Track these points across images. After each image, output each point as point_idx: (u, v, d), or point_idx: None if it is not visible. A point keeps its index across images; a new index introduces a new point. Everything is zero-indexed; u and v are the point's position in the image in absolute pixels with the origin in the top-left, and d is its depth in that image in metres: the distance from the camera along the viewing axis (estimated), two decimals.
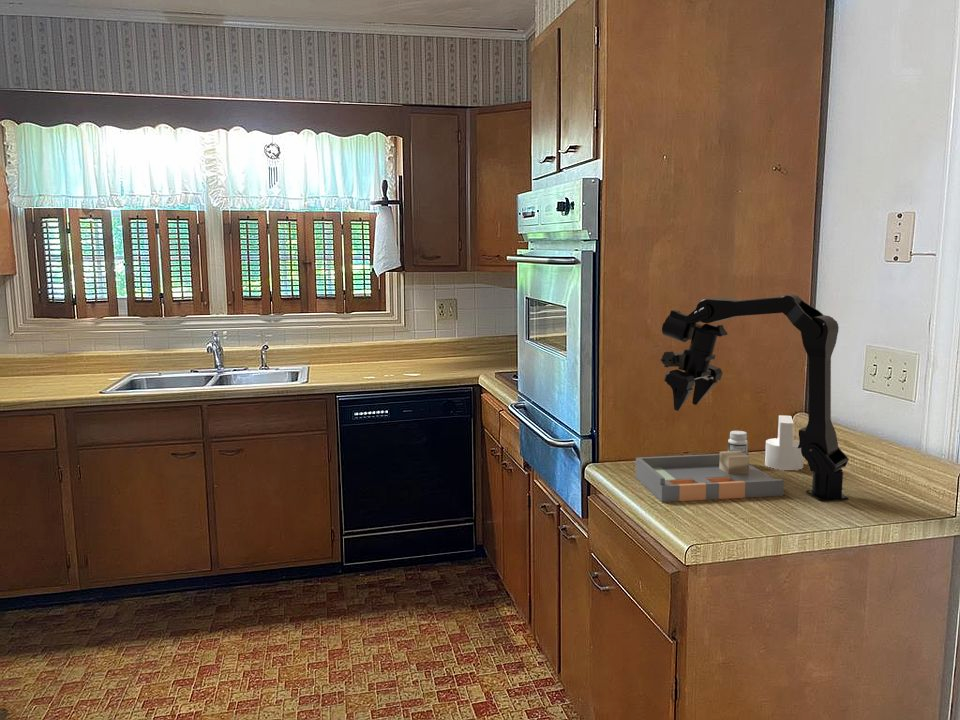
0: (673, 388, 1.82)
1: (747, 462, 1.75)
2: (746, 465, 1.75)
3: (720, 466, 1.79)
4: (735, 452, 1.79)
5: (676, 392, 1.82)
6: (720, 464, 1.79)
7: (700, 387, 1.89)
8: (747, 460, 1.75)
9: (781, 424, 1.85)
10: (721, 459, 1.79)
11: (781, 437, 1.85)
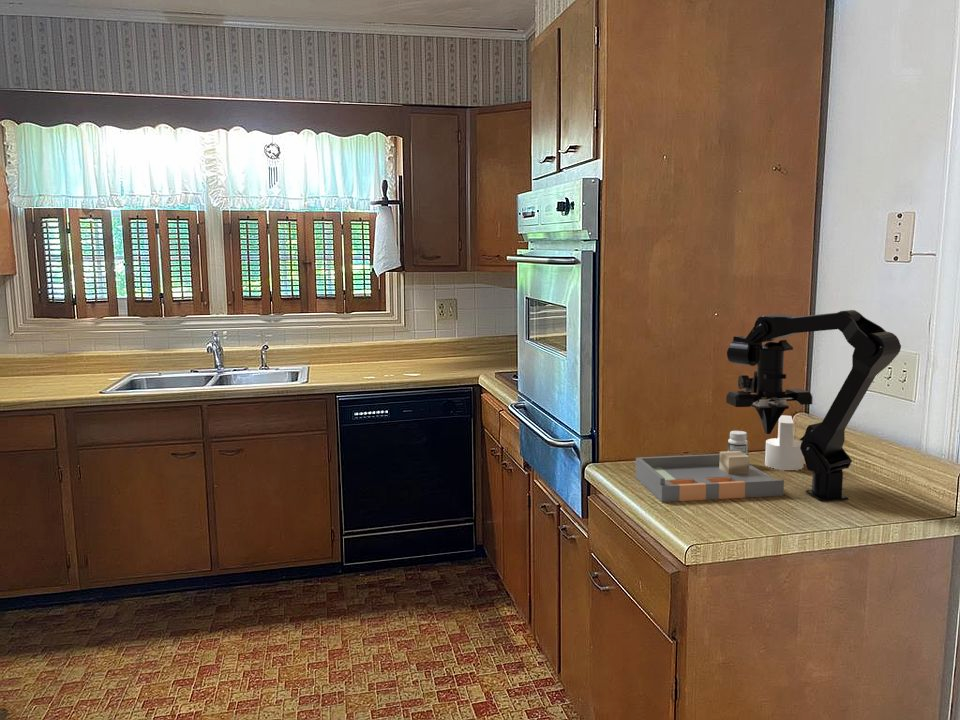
0: (757, 409, 1.78)
1: (747, 462, 1.75)
2: (746, 465, 1.75)
3: (720, 466, 1.79)
4: (735, 452, 1.79)
5: (761, 413, 1.77)
6: (720, 464, 1.79)
7: (770, 414, 1.77)
8: (747, 460, 1.75)
9: (781, 424, 1.85)
10: (721, 459, 1.79)
11: (781, 437, 1.85)
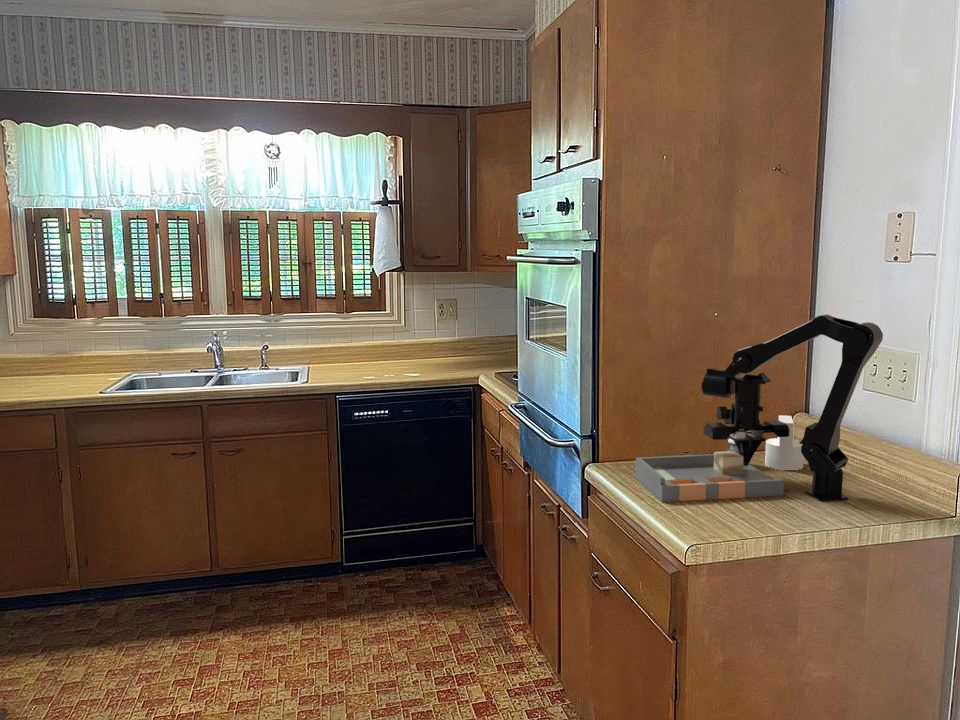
0: (735, 441, 1.78)
1: (741, 462, 1.75)
2: (740, 465, 1.75)
3: (714, 466, 1.79)
4: (729, 452, 1.79)
5: (739, 445, 1.78)
6: (714, 464, 1.79)
7: None
8: (741, 460, 1.75)
9: None
10: (715, 459, 1.79)
11: (781, 437, 1.85)
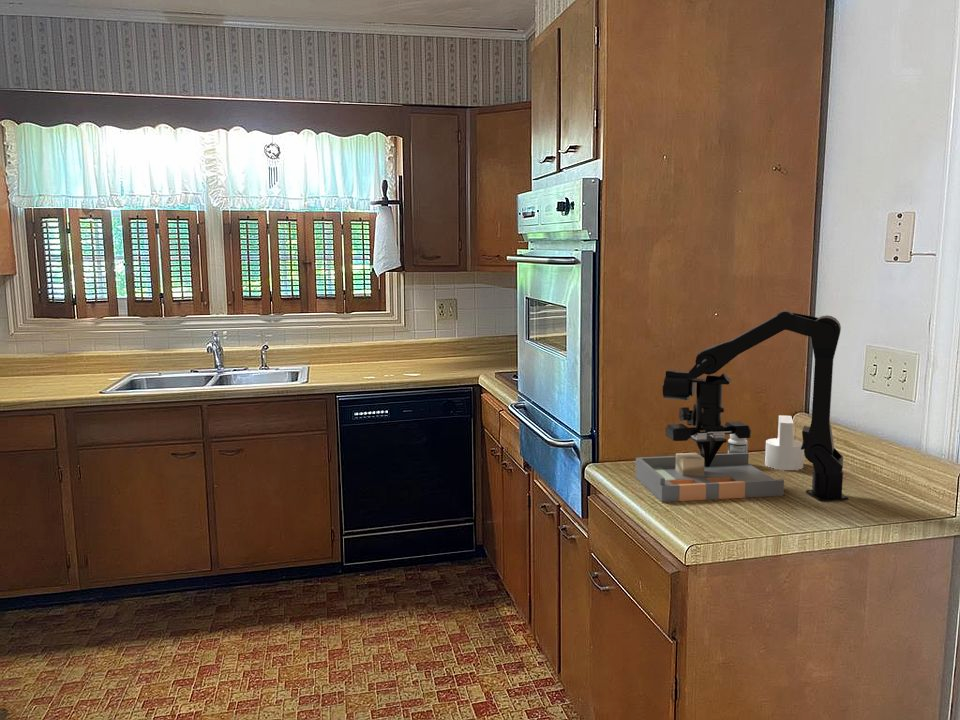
0: (696, 442, 1.77)
1: (702, 464, 1.74)
2: (701, 467, 1.74)
3: (676, 468, 1.78)
4: (691, 454, 1.78)
5: (700, 446, 1.77)
6: (676, 466, 1.78)
7: (709, 447, 1.76)
8: (702, 462, 1.74)
9: (781, 424, 1.85)
10: (677, 461, 1.78)
11: (781, 437, 1.85)
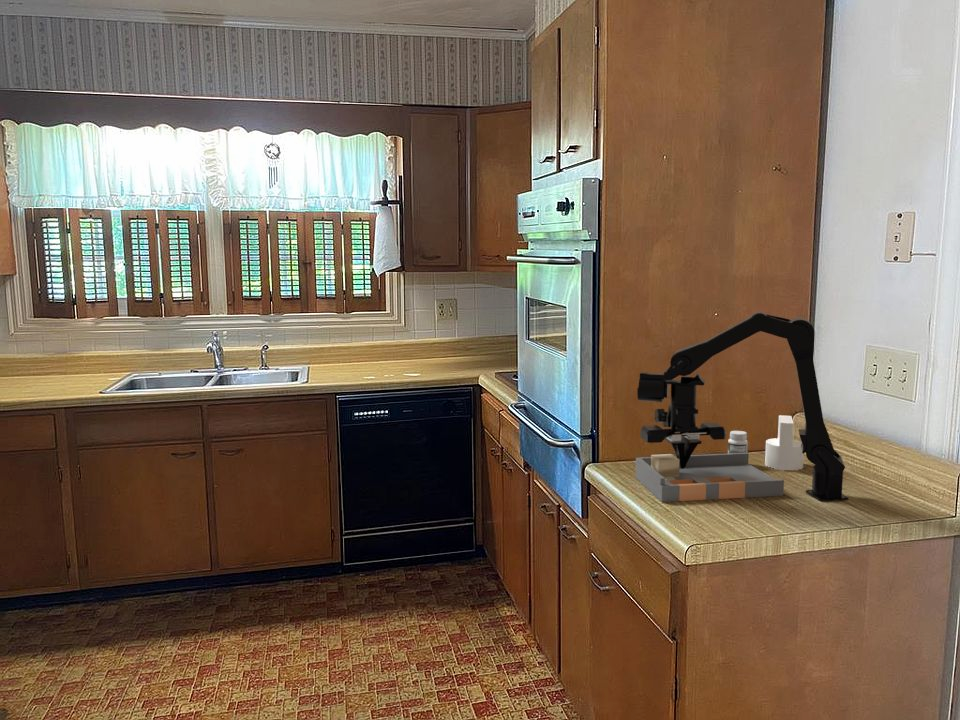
0: None
1: (677, 465, 1.74)
2: (676, 468, 1.74)
3: None
4: (666, 455, 1.77)
5: (675, 448, 1.76)
6: None
7: None
8: (677, 463, 1.73)
9: (781, 424, 1.85)
10: (652, 462, 1.77)
11: (781, 437, 1.85)
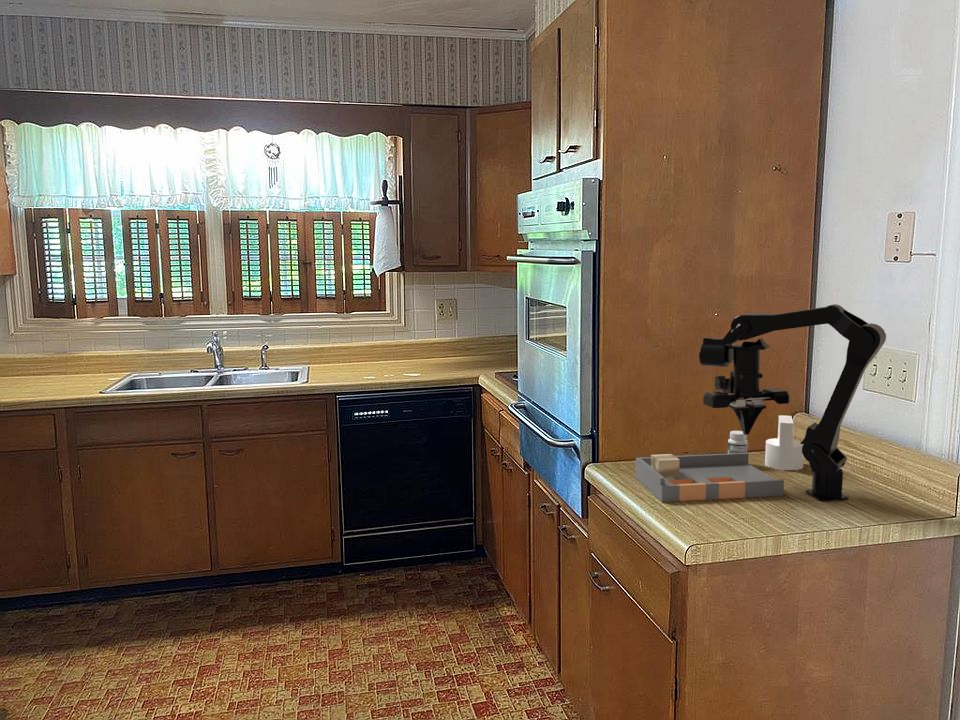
0: (734, 410, 1.76)
1: (677, 465, 1.74)
2: (676, 468, 1.74)
3: None
4: (666, 455, 1.77)
5: (738, 414, 1.75)
6: None
7: None
8: (677, 463, 1.73)
9: (781, 424, 1.85)
10: (652, 462, 1.77)
11: (781, 437, 1.85)
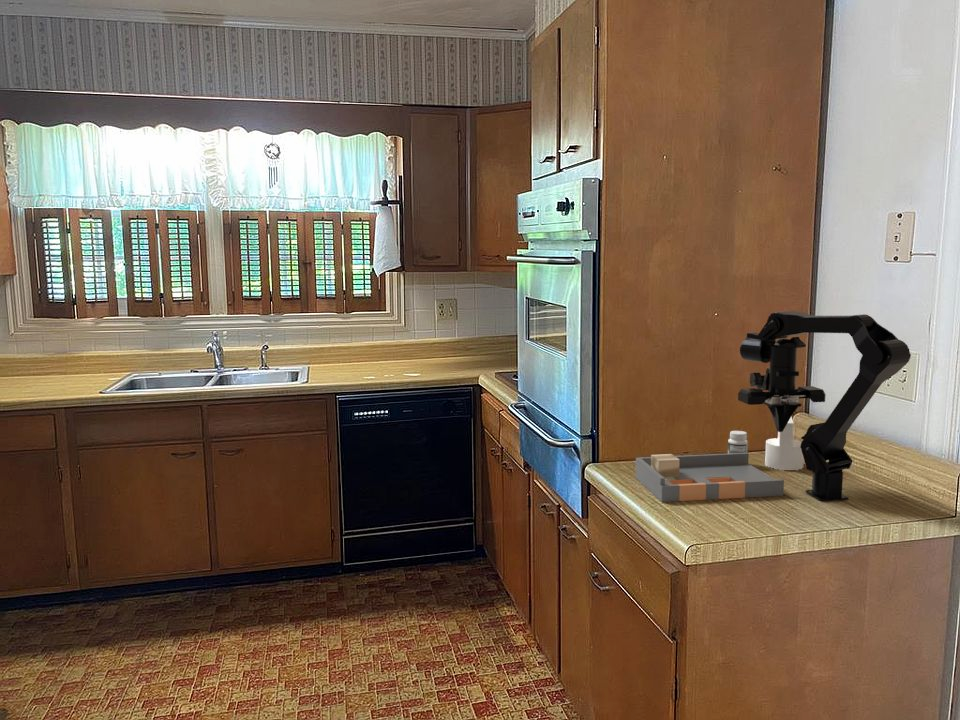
0: (769, 407, 1.76)
1: (677, 465, 1.74)
2: (676, 468, 1.74)
3: None
4: (666, 455, 1.77)
5: (773, 411, 1.75)
6: None
7: None
8: (677, 463, 1.73)
9: None
10: (652, 462, 1.77)
11: (781, 437, 1.85)
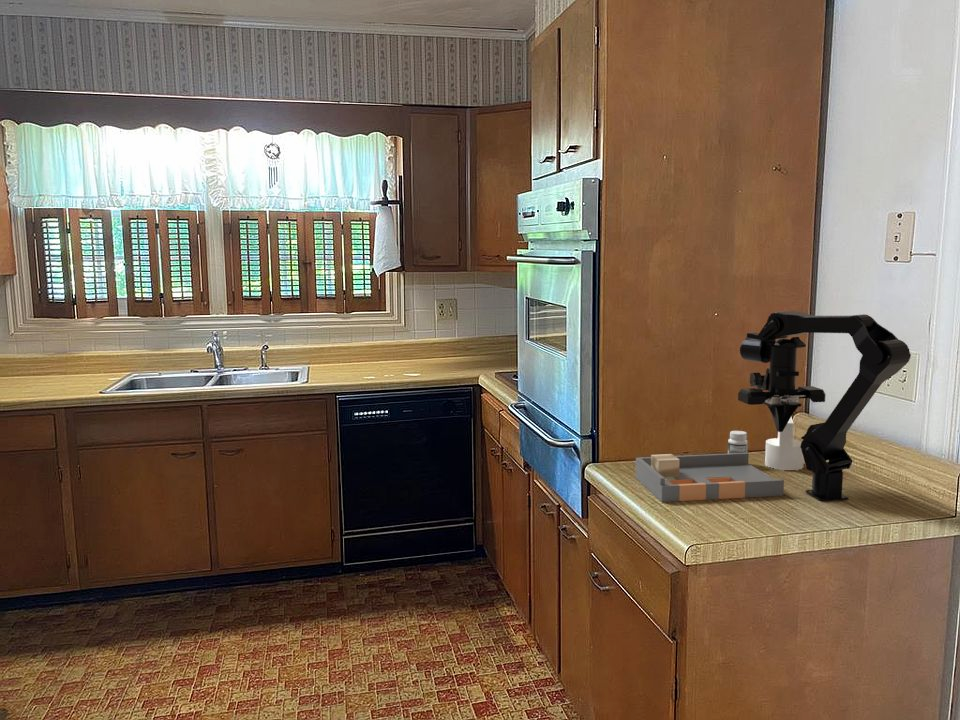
0: (769, 407, 1.76)
1: (677, 465, 1.74)
2: (676, 468, 1.74)
3: None
4: (666, 455, 1.77)
5: (773, 411, 1.75)
6: None
7: None
8: (677, 463, 1.73)
9: None
10: (652, 462, 1.77)
11: (781, 437, 1.85)
